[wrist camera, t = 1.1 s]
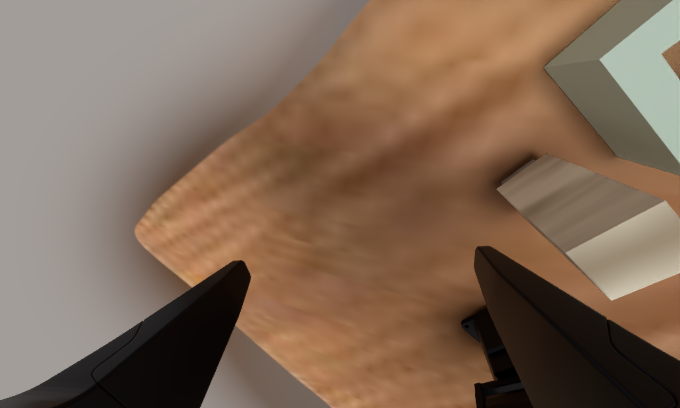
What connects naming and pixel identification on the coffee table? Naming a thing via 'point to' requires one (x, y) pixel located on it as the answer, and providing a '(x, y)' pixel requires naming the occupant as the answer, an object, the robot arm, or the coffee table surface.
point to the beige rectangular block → (598, 223)
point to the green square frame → (628, 81)
